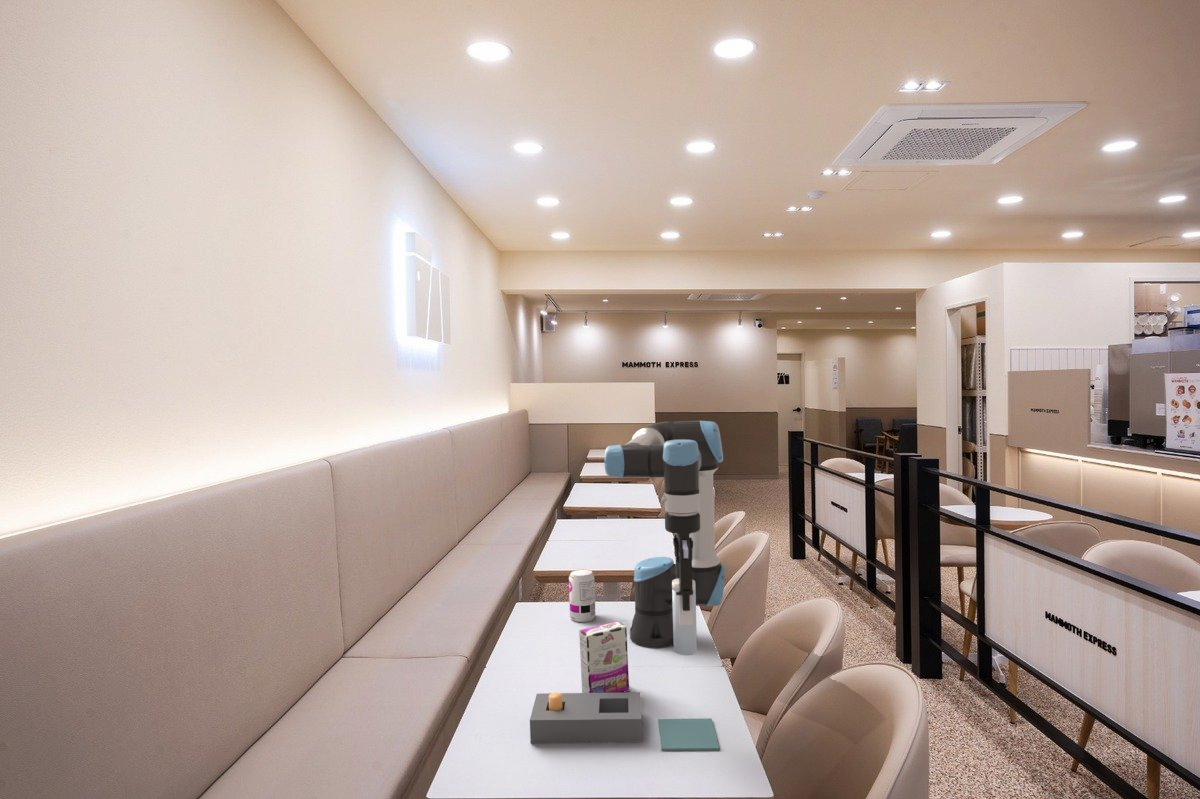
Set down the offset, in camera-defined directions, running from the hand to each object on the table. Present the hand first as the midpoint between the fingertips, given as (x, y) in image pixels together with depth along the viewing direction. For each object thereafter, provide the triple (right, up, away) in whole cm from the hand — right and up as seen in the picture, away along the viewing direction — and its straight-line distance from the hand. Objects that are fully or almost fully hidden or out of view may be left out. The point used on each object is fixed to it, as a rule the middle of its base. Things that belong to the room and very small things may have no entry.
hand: (684, 619), depth 145 cm
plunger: (-28, -25, +6) cm, 38 cm away
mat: (+1, -26, +1) cm, 26 cm away
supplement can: (-24, -24, +73) cm, 80 cm away
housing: (-21, -26, +5) cm, 34 cm away
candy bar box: (-17, -25, +21) cm, 37 cm away
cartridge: (0, -7, 0) cm, 7 cm away
